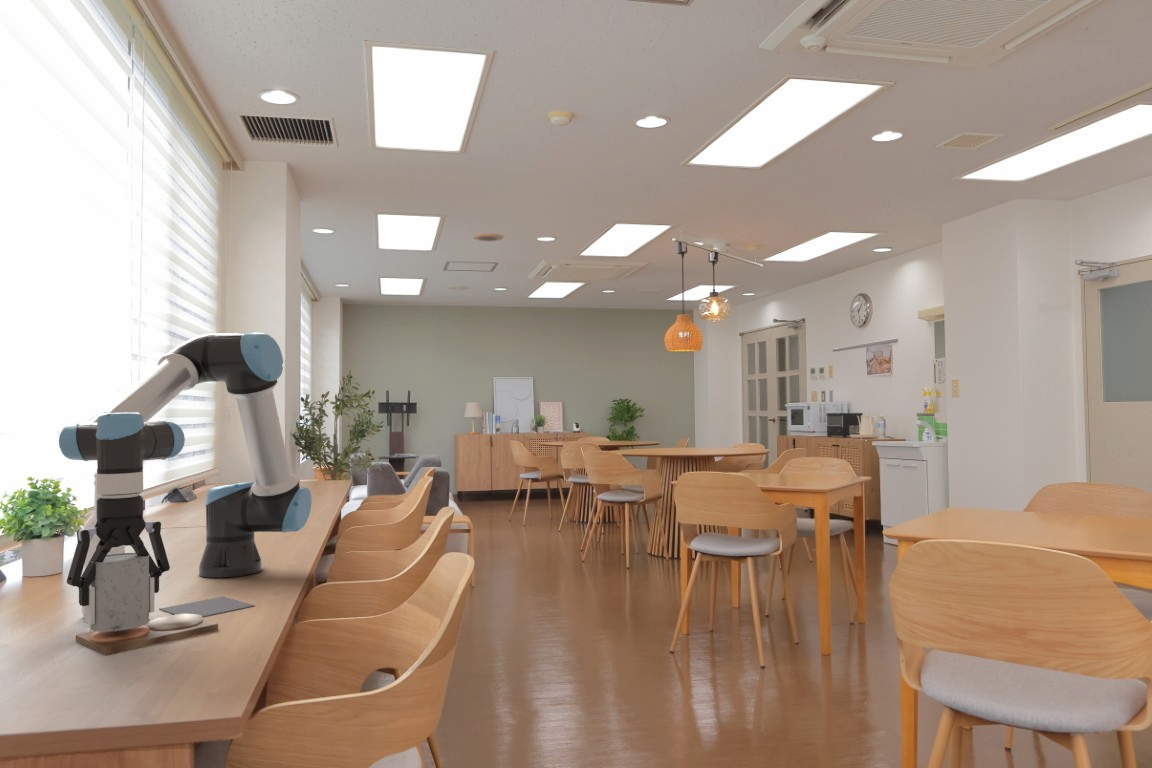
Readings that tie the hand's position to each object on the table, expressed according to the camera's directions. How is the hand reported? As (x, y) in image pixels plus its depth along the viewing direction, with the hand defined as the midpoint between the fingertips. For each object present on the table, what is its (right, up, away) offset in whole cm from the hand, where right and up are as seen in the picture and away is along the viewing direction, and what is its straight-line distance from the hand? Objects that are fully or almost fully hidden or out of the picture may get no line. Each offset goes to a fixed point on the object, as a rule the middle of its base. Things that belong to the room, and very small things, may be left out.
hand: (120, 616), depth 148 cm
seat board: (+3, -5, +4) cm, 7 cm away
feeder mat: (+5, -5, +24) cm, 25 cm away
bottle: (-15, -5, +20) cm, 25 cm away
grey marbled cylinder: (0, -2, 0) cm, 2 cm away
